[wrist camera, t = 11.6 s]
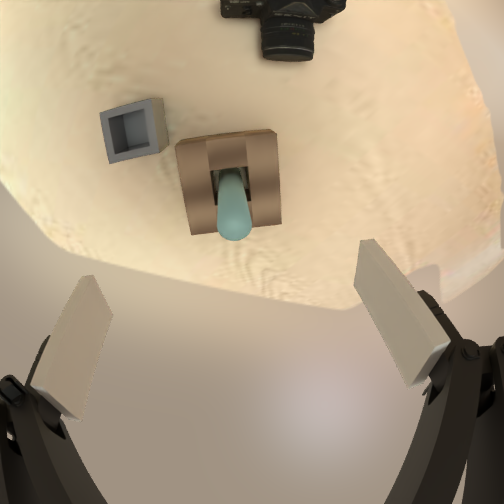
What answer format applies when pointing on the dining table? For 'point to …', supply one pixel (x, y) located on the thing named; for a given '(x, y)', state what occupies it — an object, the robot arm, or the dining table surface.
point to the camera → (285, 24)
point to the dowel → (232, 206)
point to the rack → (222, 157)
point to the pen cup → (134, 130)
